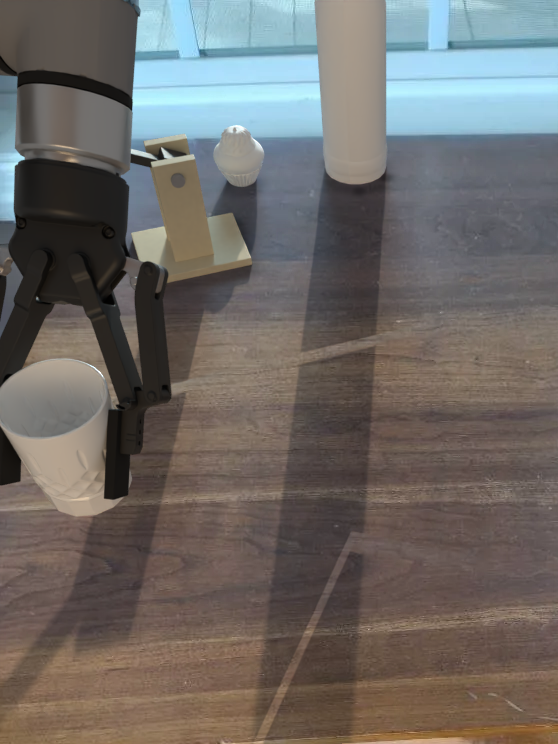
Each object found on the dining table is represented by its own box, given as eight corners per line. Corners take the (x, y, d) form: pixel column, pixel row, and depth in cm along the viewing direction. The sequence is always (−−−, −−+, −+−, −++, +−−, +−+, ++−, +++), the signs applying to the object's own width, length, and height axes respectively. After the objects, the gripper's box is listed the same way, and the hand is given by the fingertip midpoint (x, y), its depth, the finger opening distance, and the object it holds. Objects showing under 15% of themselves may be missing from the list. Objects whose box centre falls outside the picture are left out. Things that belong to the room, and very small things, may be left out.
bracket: (147, 289, 96) (117, 185, 85) (133, 241, 101) (103, 137, 90) (252, 266, 98) (236, 162, 88) (233, 220, 103) (216, 117, 93)
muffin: (258, 199, 106) (250, 145, 100) (210, 191, 106) (200, 137, 101) (274, 170, 109) (267, 116, 103) (228, 163, 110) (219, 109, 104)
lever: (56, 165, 83) (60, 142, 82) (48, 132, 86) (52, 109, 85) (188, 195, 90) (194, 174, 89) (176, 164, 94) (182, 143, 92)
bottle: (387, 151, 112) (387, -128, 87) (387, 187, 107) (387, -96, 83) (325, 150, 112) (307, -129, 87) (322, 186, 107) (303, -97, 82)
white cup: (19, 507, 68) (-31, 422, 60) (72, 436, 72) (33, 347, 64) (108, 535, 67) (70, 452, 58) (157, 461, 71) (128, 373, 63)
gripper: (232, 195, 63) (210, 500, 68) (-37, 166, 65) (-42, 468, 69) (201, 170, 56) (178, 514, 60) (-103, 139, 57) (-104, 478, 62)
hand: (61, 489), depth 65 cm, fingers closed on white cup, 8 cm apart
